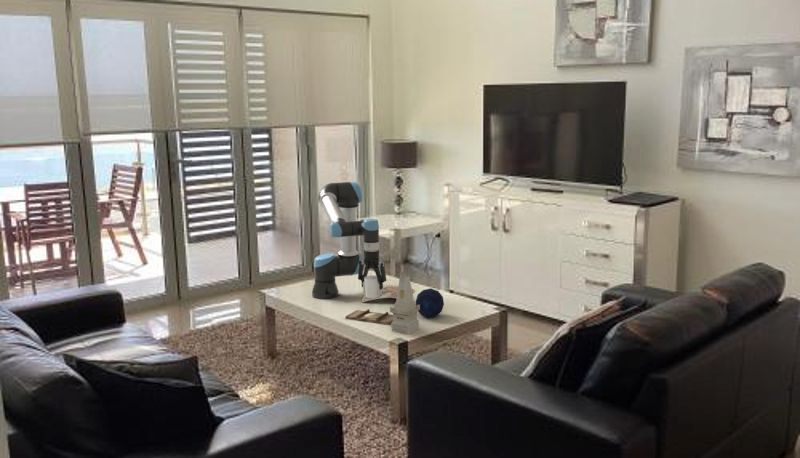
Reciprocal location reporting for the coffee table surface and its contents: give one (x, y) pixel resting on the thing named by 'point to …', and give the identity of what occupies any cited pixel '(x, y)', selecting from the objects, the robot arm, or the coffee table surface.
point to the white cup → (371, 286)
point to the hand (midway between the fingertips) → (372, 294)
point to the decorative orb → (430, 302)
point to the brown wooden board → (371, 317)
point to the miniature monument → (405, 307)
